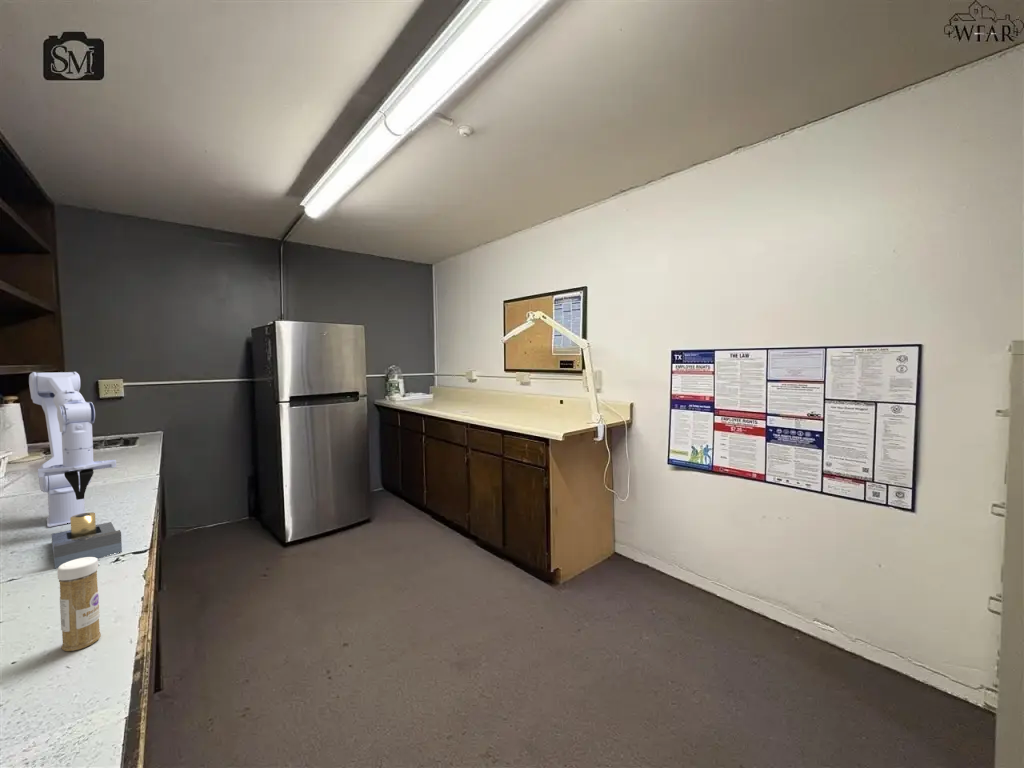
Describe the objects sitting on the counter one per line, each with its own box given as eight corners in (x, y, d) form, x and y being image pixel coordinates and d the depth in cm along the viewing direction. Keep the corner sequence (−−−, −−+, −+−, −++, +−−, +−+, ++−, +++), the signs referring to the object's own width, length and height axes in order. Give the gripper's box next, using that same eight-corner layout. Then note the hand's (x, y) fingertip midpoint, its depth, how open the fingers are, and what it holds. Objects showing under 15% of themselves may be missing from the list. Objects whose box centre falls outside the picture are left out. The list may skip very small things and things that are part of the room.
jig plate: (51, 543, 107) (51, 524, 107) (111, 531, 115) (110, 512, 115) (54, 569, 94) (53, 546, 94) (121, 552, 102) (121, 532, 102)
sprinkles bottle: (97, 645, 68) (93, 563, 68) (56, 656, 66) (52, 571, 65) (104, 630, 72) (100, 553, 71) (66, 640, 69) (62, 560, 69)
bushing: (71, 542, 108) (69, 515, 107) (95, 537, 111) (94, 510, 111) (72, 547, 105) (71, 519, 104) (97, 542, 108) (95, 514, 108)
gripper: (37, 454, 105) (39, 508, 105) (116, 446, 115) (118, 495, 116) (36, 450, 109) (39, 502, 110) (113, 443, 120) (115, 490, 121)
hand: (80, 498), depth 113 cm, fingers closed
